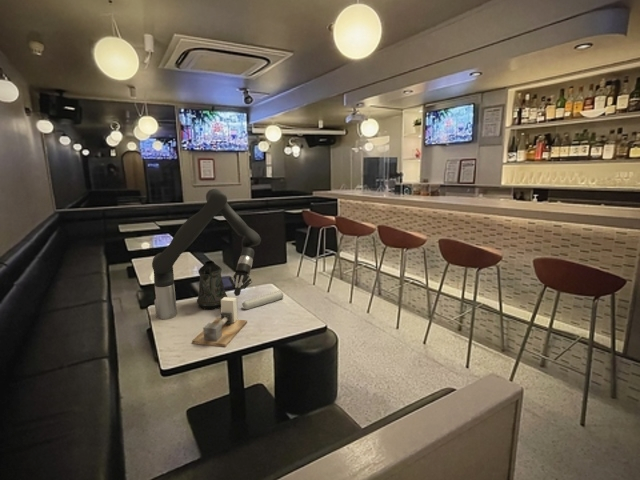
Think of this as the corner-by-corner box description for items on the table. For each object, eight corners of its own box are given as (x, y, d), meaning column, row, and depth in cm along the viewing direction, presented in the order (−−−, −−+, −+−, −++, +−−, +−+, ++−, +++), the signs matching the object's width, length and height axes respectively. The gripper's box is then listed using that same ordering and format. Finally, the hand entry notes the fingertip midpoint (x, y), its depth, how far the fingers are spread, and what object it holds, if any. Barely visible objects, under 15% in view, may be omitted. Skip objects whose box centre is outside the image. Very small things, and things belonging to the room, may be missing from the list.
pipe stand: (192, 343, 157) (191, 328, 156) (217, 320, 180) (216, 306, 179) (226, 346, 154) (225, 331, 153) (247, 322, 177) (246, 309, 176)
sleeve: (222, 321, 175) (220, 300, 172) (225, 318, 178) (224, 297, 176) (234, 322, 173) (233, 300, 171) (237, 319, 177) (236, 297, 175)
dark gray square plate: (221, 323, 172) (220, 313, 171) (222, 322, 174) (221, 312, 172) (231, 324, 172) (230, 314, 170) (232, 323, 173) (231, 313, 172)
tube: (245, 305, 190) (284, 293, 206) (241, 299, 193) (279, 288, 209) (244, 312, 192) (282, 301, 208) (240, 307, 196) (277, 295, 211)
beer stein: (222, 296, 211) (220, 256, 206) (233, 307, 195) (231, 264, 190) (194, 302, 203) (190, 260, 198) (202, 314, 187) (199, 269, 182)
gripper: (230, 261, 190) (221, 291, 181) (254, 263, 187) (246, 293, 178) (235, 268, 196) (226, 297, 187) (258, 269, 194) (250, 299, 185)
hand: (236, 295), depth 183 cm, fingers closed
